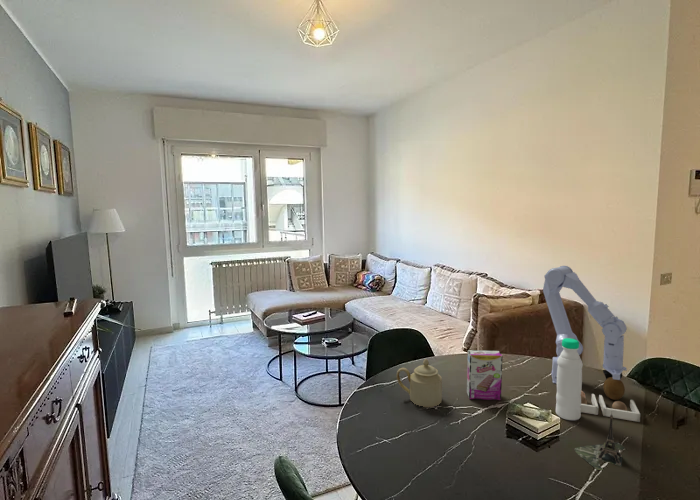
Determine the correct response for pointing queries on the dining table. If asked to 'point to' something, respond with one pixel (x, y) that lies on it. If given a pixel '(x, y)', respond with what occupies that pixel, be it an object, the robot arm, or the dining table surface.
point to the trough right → (620, 411)
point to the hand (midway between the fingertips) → (611, 391)
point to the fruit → (613, 388)
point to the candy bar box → (484, 375)
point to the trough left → (590, 407)
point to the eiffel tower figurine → (602, 451)
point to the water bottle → (569, 381)
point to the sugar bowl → (423, 385)
